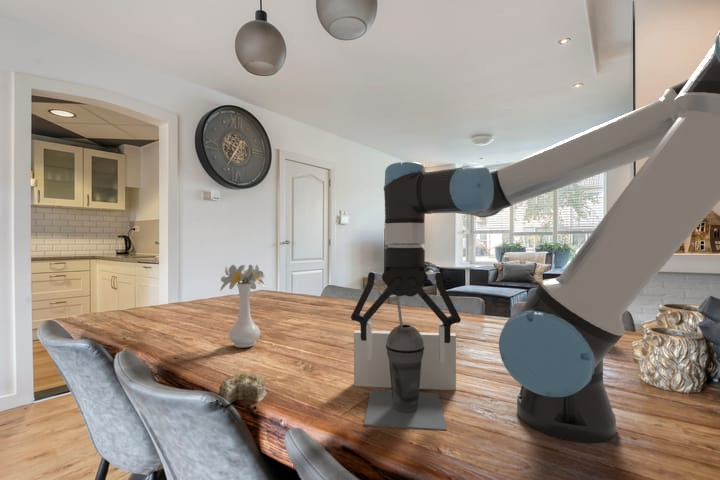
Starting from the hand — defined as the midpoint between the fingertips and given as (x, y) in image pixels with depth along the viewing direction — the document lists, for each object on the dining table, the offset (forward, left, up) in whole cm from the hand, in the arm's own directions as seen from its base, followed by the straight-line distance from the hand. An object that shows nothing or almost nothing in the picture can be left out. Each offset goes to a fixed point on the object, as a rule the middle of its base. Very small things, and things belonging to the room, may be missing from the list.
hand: (404, 358), depth 68 cm
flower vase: (+57, +25, -10) cm, 63 cm away
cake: (+18, +28, -11) cm, 35 cm away
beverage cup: (0, 0, -9) cm, 9 cm away
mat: (0, 0, -10) cm, 10 cm away
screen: (+10, -5, -10) cm, 15 cm away
